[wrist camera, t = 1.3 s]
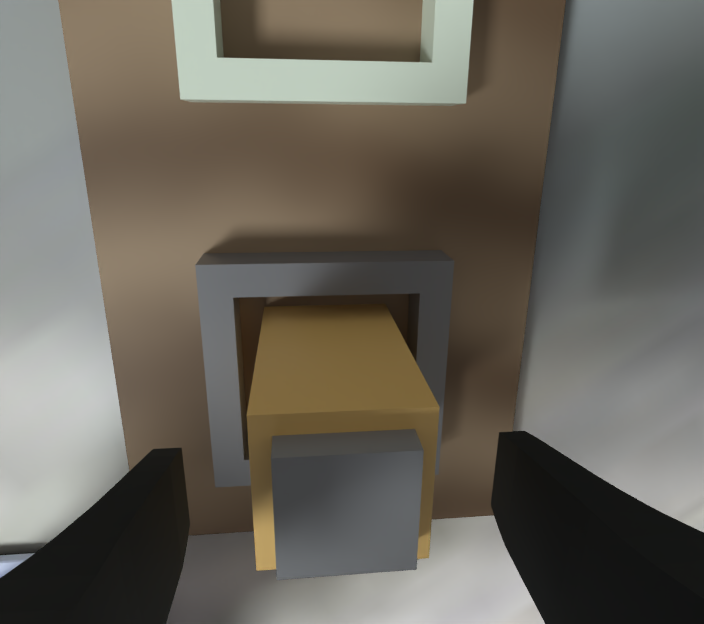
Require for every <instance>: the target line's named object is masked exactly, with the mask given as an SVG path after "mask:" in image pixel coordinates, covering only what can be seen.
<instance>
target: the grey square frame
mask: <svg viewBox="0 0 704 624" xmlns="http://www.w3.org/2000/svg"><path fill="white" fill-rule="evenodd" d="M195 268H196V279H197V290H198V301H199V313H200V324H201V335H202V346H203V357H204V368H205V379H206V390H207V401H208V413H209V424H210V435H211V446H212V457H213V468H214V479H215V488H216V487H233V486H250V485H251V478H250V463H249V447H248V432H247V416H246V400H245V384H244V369H243V353H242V337H241V321H240V306H239V297H282V296H327V295H372V294H409V308H408V330H407V346H408V348H409V350H410V352H411V354H412V356H413V357H414V359H415V361H416V363H417V365H418V367H419V369H420V371H421V373H422V375H423V376H424V378H425V380H426V382H427V384H428V386H429V388H430V390H431V392H432V394H433V395H434V397H435V399H436V401H437V403H438V405H439V407H440V408H439V422H438V436H437V450H436V464H435V475H439V462H440V448H441V435H442V421H443V408H444V394H445V381H446V367H447V354H448V340H449V327H450V313H451V299H452V286H453V272H454V260H453V259H451V258H450V257H449V256H448V255H447V254H445V253H444V252H443V251H442V250H416V251H344V252H271V253H204V254H203V255H202V256H201V258H200V259H199V260H198V262H197V263H196V265H195Z"/></svg>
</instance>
